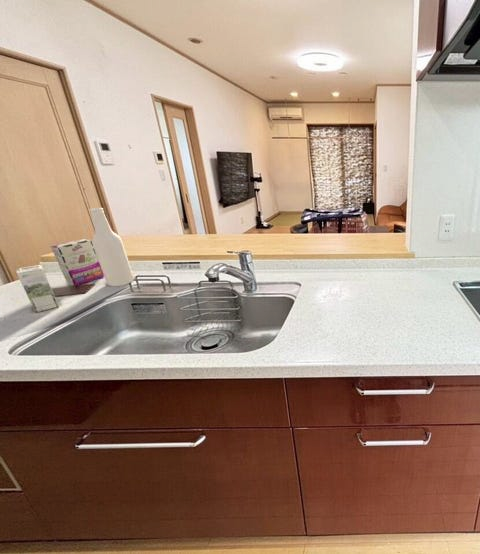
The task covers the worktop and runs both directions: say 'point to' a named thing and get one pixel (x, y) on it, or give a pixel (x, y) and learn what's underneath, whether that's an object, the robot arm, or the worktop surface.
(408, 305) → the worktop surface
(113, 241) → the alcohol
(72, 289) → the board
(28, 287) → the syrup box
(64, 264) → the candy bar box
